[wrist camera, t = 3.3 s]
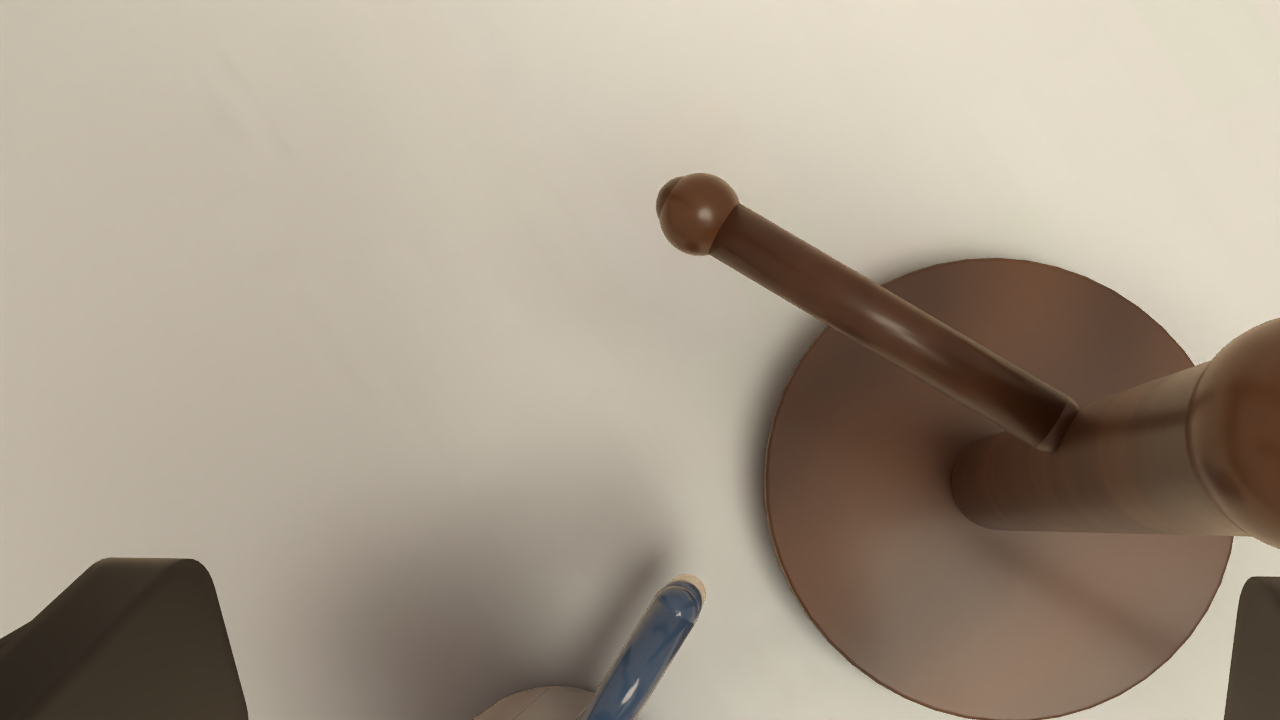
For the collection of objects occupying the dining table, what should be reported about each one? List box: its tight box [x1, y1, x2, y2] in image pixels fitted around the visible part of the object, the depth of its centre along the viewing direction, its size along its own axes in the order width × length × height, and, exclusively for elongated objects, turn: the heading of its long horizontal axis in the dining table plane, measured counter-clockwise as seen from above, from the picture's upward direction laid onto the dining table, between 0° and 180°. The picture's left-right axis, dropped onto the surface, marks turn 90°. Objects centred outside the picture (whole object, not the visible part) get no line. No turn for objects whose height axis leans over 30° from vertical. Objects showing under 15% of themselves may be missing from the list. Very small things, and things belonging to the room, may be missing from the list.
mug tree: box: [656, 173, 1280, 720], centre depth 20 cm, size 22×11×18 cm, turn 58°
